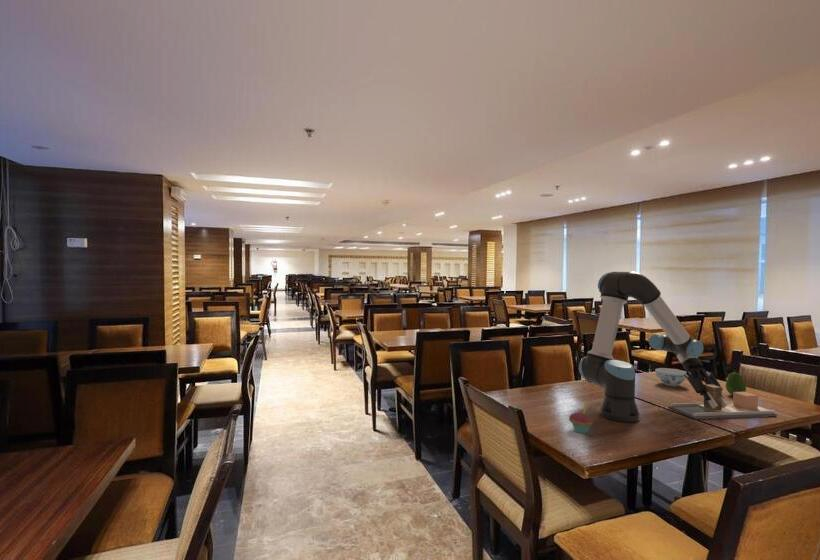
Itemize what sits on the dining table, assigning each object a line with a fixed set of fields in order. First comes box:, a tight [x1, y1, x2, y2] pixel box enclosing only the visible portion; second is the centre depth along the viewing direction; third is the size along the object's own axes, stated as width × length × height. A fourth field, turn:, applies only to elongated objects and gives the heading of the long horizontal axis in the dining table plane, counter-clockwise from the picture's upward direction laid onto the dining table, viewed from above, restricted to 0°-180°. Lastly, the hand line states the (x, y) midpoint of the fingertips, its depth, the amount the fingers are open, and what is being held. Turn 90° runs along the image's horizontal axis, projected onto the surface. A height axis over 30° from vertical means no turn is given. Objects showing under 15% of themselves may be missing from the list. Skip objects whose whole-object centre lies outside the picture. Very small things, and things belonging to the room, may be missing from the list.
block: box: [732, 391, 759, 409], centre depth 176 cm, size 6×6×6 cm
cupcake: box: [568, 402, 594, 434], centre depth 153 cm, size 9×8×12 cm
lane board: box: [668, 401, 778, 420], centre depth 175 cm, size 38×15×2 cm, turn 95°
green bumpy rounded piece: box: [725, 371, 747, 396], centre depth 199 cm, size 8×8×12 cm
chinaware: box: [654, 367, 687, 387], centre depth 220 cm, size 15×15×8 cm
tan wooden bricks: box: [698, 383, 769, 412], centre depth 175 cm, size 26×10×11 cm, turn 95°
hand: (720, 406), depth 171 cm, fingers closed on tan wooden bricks, 4 cm apart
